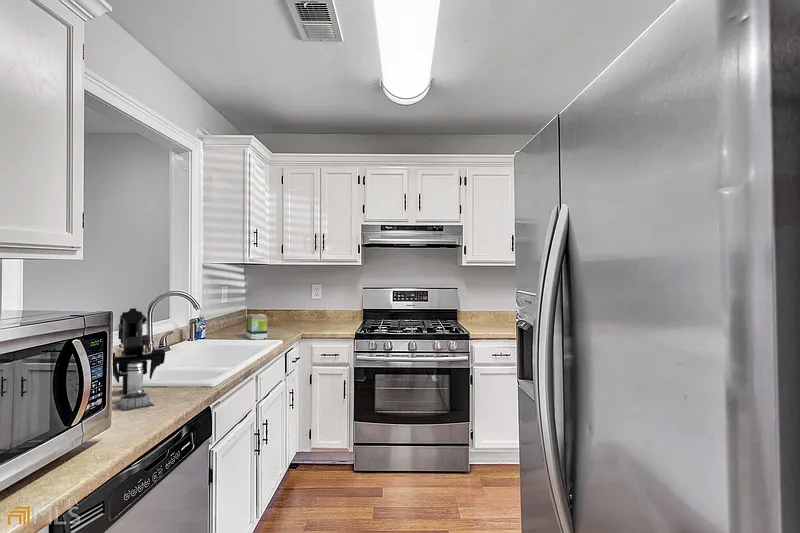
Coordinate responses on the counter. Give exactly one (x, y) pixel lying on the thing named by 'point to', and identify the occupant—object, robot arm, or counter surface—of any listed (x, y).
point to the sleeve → (134, 402)
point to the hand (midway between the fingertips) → (134, 380)
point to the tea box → (256, 326)
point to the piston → (134, 380)
